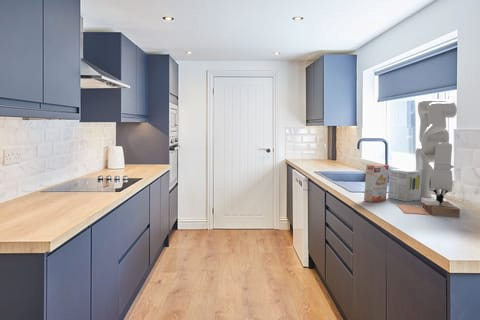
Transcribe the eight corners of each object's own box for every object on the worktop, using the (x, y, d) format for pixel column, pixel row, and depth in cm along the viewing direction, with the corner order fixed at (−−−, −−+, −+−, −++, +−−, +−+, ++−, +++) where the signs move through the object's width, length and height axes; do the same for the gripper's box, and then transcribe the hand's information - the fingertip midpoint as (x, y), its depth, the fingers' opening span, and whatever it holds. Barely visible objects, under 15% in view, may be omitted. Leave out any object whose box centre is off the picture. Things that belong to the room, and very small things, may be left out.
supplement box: (405, 201, 225) (408, 171, 223) (387, 197, 236) (389, 169, 234) (420, 200, 231) (422, 170, 229) (402, 196, 242) (404, 168, 241)
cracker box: (372, 202, 218) (374, 165, 216) (363, 200, 223) (365, 164, 221) (387, 200, 226) (389, 164, 224) (378, 198, 231) (380, 163, 229)
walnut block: (422, 206, 210) (422, 199, 210) (446, 208, 208) (447, 201, 207) (432, 215, 191) (433, 207, 190) (459, 217, 188) (459, 208, 188)
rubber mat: (396, 205, 213) (396, 204, 213) (420, 206, 210) (420, 206, 210) (404, 213, 193) (404, 212, 193) (430, 214, 191) (430, 214, 191)
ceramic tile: (421, 201, 204) (421, 197, 204) (433, 202, 203) (433, 198, 203) (426, 204, 195) (426, 201, 195) (439, 205, 194) (439, 201, 194)
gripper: (455, 167, 199) (452, 202, 201) (424, 165, 202) (421, 200, 204) (460, 168, 192) (457, 205, 194) (428, 167, 195) (425, 203, 197)
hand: (439, 202), depth 199 cm, fingers closed
